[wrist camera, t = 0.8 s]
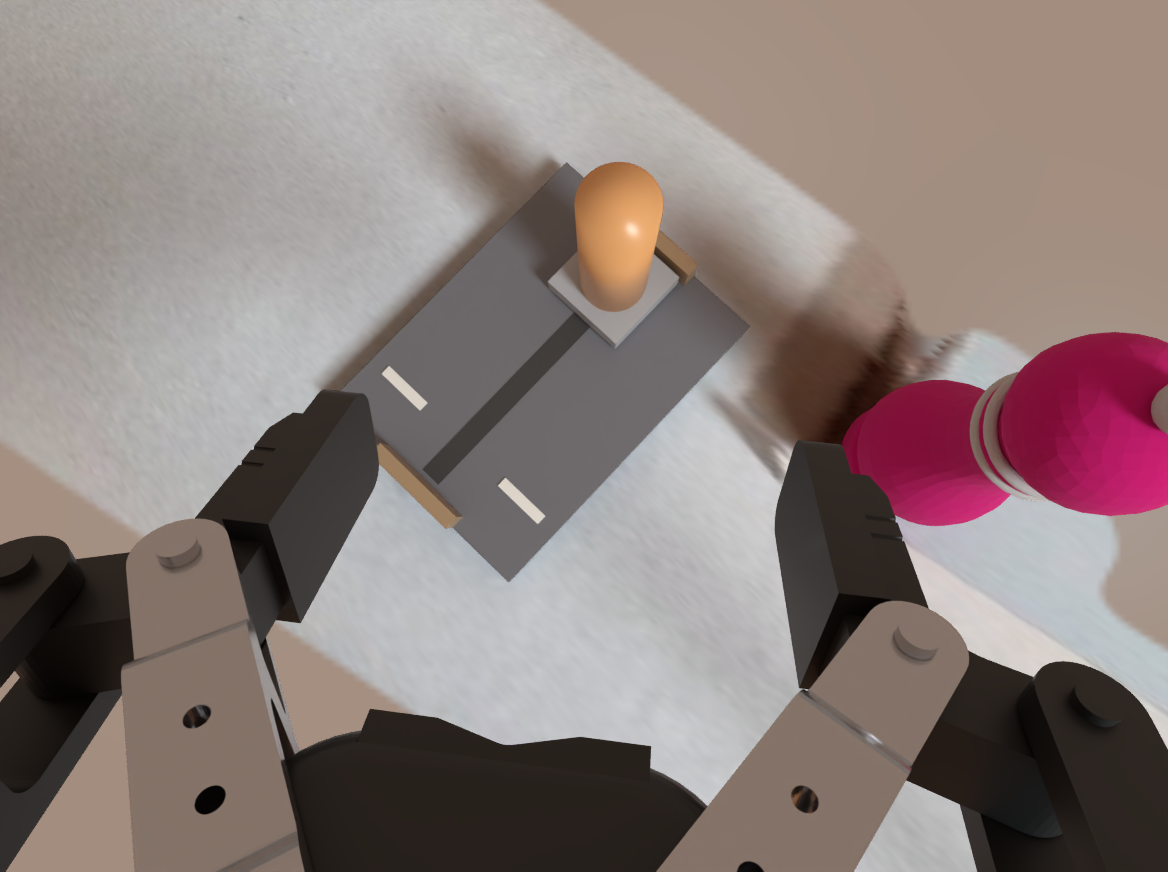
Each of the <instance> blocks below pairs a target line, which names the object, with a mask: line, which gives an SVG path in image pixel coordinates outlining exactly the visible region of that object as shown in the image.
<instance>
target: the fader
mask: <svg viewBox="0 0 1168 872" xmlns="http://www.w3.org/2000/svg"><path fill="white" fill-rule="evenodd" d="M574 207H575V220H576V233H577V247H578V251H577V252H576V253H575V254H574V255H573V256H572V257H571V258H570V259H569V260H568V261H567V262H566V263H565V264H564V265H563V266H562V267H561V268H560V269H559V270H558V271H557V273H556V274H555V275H554V276H553V277H552V278H551V279H550V280H549V281H548V285H549V289H550V290H551V291H552V292H553V293H554V294H556V295H557V296H558V297H559V298H560V299H561V300H562V301H563V302H564V303H565V304H566V305H568V306H569V307H570V308H571V309H572V310H573V311H574V312H575V313H576V314H577V315H578V316H579V317H581V318H582V319H583V320H584V321H585V322H586V323H587V324H588V325H589V326H590V327H591V328H593V329H594V330H595V331H596V332H597V333H598V334H599V335H600V336H601V337H602V338H603V339H604V340H606V341H607V342H608V343H609V344H610V345H611V346H612V347H613V348H614V349H616V348H617V347H618V346H619V345H620V344H621V342H622V341H623V340H624V339H625V338H626V337H627V336H628V335H629V334H630V333H631V332H632V331H633V330H634V329H635V328H636V327H637V326H638V325H639V324H640V323H641V322H642V321H643V320H644V318H645V317H646V316H647V315H648V314H649V313H650V312H651V311H652V310H653V309H654V308H655V307H656V306H657V305H658V304H659V303H660V302H661V301H662V300H663V299H664V298H665V297H666V295H667V294H668V293H669V292H670V291H671V290H672V289H673V288H674V287H675V286H676V285H677V283H678V280H679V276H678V275H677V274H675V273H674V272H673V271H672V270H671V269H670V268H669V267H668V266H666V265H665V264H664V263H663V262H662V261H661V260H660V259H659V258H658V257H656V256H655V255H654V250H655V245H656V241H657V236H658V231H659V227H660V222H661V218H662V213H663V196H662V192H661V190H660V187H659V185H658V183H657V182H656V180H655V179H654V178H653V177H652V176H651V175H650V174H649V173H648V172H647V171H646V170H644V169H642V168H641V167H639V166H636V165H634V164H630V163H625V162H614V163H608V164H605V165H602V166H600V167H598V168H596V169H594V170H593V171H591V172H590V173H589V174H588V175H587V176H586V177H585V178H584V179H583V180H582V182H581V183H580V185H579V187H578V189H577V192H576V196H575V205H574Z"/></svg>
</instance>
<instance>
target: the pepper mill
mask: <svg viewBox="0 0 1168 872" xmlns="http://www.w3.org/2000/svg"><path fill="white" fill-rule="evenodd" d="M842 446H843V448H844V451H845V454H846V457H847V460H848V464H849V467H850V470H851V473H852V474H861V475H869V476H870V477H871V478H872V480H873V481H874V482H875V483H876V484H877V485H878V486H879V487H880V488H881V489H882V490H883V492H884V493H885V494H886V495H887V496H888V498H889V501H890V504H891V507H892V509H893V512H894V515H896V516H898V517H901V518H903V519H905V520H907V521H910V522H913V523H916V524H921V525H927V526H945V525H953V524H959V523H965V522H968V521H971V520H974V519H976V518H978V517H980V516H982V515H984V514H986V513H988V512H990V511H992V510H994V509H995V508H997V507H998V506H999V505H1001V504H1002V503H1003V502H1004V501H1005V500H1006V499H1007V498H1008V497H1009V496H1010V495H1014V496H1016V497H1018V498H1021V499H1025V500H1030V501H1039V502H1047V501H1052V502H1054V503H1057V504H1059V505H1061V506H1063V507H1065V508H1068V509H1072V510H1075V511H1079V512H1082V513H1090V514H1098V515H1107V516H1114V515H1125V514H1137V513H1142V512H1146V511H1150V510H1153V509H1157V508H1160V507H1162V506H1165V505H1167V504H1168V343H1167V342H1164V341H1162V340H1159V339H1157V338H1153V337H1149V336H1144V335H1140V334H1131V333H1119V332H1111V333H1098V334H1089V335H1085V336H1081V337H1077V338H1074V339H1070V340H1068V341H1065V342H1062V343H1060V344H1057V345H1054V346H1052V347H1050V348H1048V349H1046V350H1044V351H1043V352H1041V353H1040V354H1038V355H1037V356H1036V357H1035V358H1034V359H1032V360H1031V361H1030V362H1029V363H1028V364H1026V365H1025V366H1024V367H1023V368H1022V370H1021V371H1020V372H1016V373H1013V374H1010V375H1007V376H1005V377H1003V378H1001V379H999V380H998V381H996V382H995V383H994V384H992V385H991V386H990V387H989V388H988V389H987V390H986V391H985V390H983V389H981V388H978V387H975V386H972V385H969V384H965V383H960V382H954V381H949V380H929V381H923V382H918V383H913V384H909V385H906V386H903V387H901V388H898V389H896V390H894V391H893V392H891V393H889V394H888V395H886V396H885V397H883V398H882V399H881V400H880V401H879V402H878V403H877V404H876V405H875V406H874V407H873V408H872V409H870V410H868V411H866V412H864V413H863V414H861V415H860V416H859V417H858V418H857V419H856V420H855V421H854V422H853V423H852V424H851V426H850V427H849V429H848V430H847V432H846V434H845V436H844V439H843V442H842Z"/></svg>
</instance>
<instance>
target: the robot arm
mask: <svg viewBox="0 0 1168 872" xmlns="http://www.w3.org/2000/svg"><path fill="white" fill-rule="evenodd" d="M378 470H379V457H378V451H377V445H376V439H375V434H374V428H373V422H372V416H371V411H370V405H369V401H368V398H367V397H366V395H365V394H363V393H354V392H344V391H335V390H322V391H321V392H319V394H318V395H317V396H316V397H315V399H314V400H313V401H312V403H311V404H310V405H309V406H308V408H307V409H306V410H305V412H304V413H303V414H301V413H292V414H290V415H289V416H287V417H285V418H284V419H282V420H281V421H279V422H277V423H276V424H274V425H273V426H271V427H270V428H269V429H268V430H267V431H266V432H265V433H264V435H263V436H262V437H261V438H260V440H259V441H258V442H257V443H256V444H255V446H254V450H251V451H250V452H249V453H248V454H247V455H246V457H245V458H244V459H243V460H242V465H238V466H237V468H236V469H235V470H234V471H233V472H232V474H231V475H230V476H229V477H228V479H227V480H226V481H225V482H224V483H223V485H222V486H221V487H220V488H219V490H218V491H217V492H216V493H215V494H214V496H213V497H212V498H211V499H210V501H209V502H208V503H207V504H206V505H205V507H204V508H203V509H202V510H201V512H200V513H199V514H198V515H197V516H196V518H195V519H187V520H181V521H177V522H173V523H170V524H167V525H165V526H162V527H160V528H158V529H156V530H154V531H153V532H151V533H149V534H148V535H146V536H145V537H144V538H142V539H141V540H140V541H139V542H138V543H137V544H136V545H135V546H134V548H133V549H132V550H131V552H129V553H122V554H114V555H106V556H99V557H90V558H83V559H75V557H74V556H73V554H72V552H71V551H70V549H69V547H68V546H67V544H66V543H65V542H63V541H61V540H60V539H58V538H55V537H50V536H32V537H25V538H20V539H17V540H13V541H9V542H7V543H4V544H2V545H0V687H2V685H3V684H4V683H5V682H6V680H7V679H8V678H9V677H10V675H11V674H12V673H13V672H14V671H15V672H16V673H17V674H18V676H19V677H20V678H19V679H18V681H17V682H16V683H15V684H14V686H13V687H12V688H11V689H10V691H9V692H8V693H7V694H6V696H5V697H4V698H3V699H2V701H1V702H0V872H6V870H7V869H8V867H9V865H10V864H11V862H12V861H13V860H14V858H15V857H16V855H17V853H18V852H19V850H20V849H21V847H22V846H23V844H24V843H25V841H26V840H27V838H28V837H29V835H30V833H31V832H32V830H33V829H34V828H35V826H36V825H37V823H38V821H39V820H40V818H41V817H42V815H43V814H44V812H45V811H46V809H47V808H48V806H49V804H50V803H51V802H52V800H53V799H54V797H55V796H56V794H57V793H58V791H59V789H60V788H61V786H62V785H63V783H64V782H65V780H66V779H67V777H68V776H69V774H70V773H71V771H72V770H73V768H74V767H75V765H76V764H77V762H78V760H79V759H80V757H81V756H82V754H83V753H84V751H85V750H86V748H87V747H88V745H89V744H90V742H91V740H92V739H93V738H94V736H95V735H96V733H97V732H98V730H99V728H100V727H101V725H102V724H103V722H104V721H105V719H106V718H107V716H108V715H109V713H110V712H111V710H112V709H113V707H114V705H115V704H116V702H117V701H118V700H119V698H120V696H121V695H122V698H123V713H124V727H125V740H126V755H127V769H128V783H129V797H130V810H131V826H132V838H133V839H132V840H133V853H134V867H135V872H854V870H855V869H856V867H857V865H858V863H859V862H860V860H861V858H862V856H863V855H864V853H865V851H866V849H867V848H868V846H869V844H870V842H871V841H872V839H873V837H874V835H875V834H876V832H877V830H878V828H879V827H880V825H881V823H882V821H883V820H884V818H885V816H886V814H887V813H888V811H889V809H890V807H891V806H892V804H893V802H894V800H895V798H896V797H897V795H898V793H899V791H900V790H901V788H902V786H903V784H904V783H905V781H906V780H907V781H909V782H911V783H913V784H916V785H918V786H920V787H922V788H925V789H927V790H929V791H931V792H933V793H936V794H938V795H940V796H942V797H945V798H947V799H949V800H951V801H954V802H956V803H958V804H960V807H961V811H962V815H963V819H964V822H965V826H966V830H967V834H968V838H969V842H970V845H971V849H972V853H973V857H974V861H975V865H976V868H977V872H1168V749H1167V747H1166V745H1165V743H1164V742H1163V740H1162V738H1161V736H1160V734H1159V732H1158V730H1157V728H1156V727H1155V725H1154V723H1153V721H1152V719H1151V717H1150V716H1149V714H1148V712H1147V711H1146V709H1145V708H1144V707H1143V705H1142V704H1141V703H1140V702H1139V700H1138V699H1137V698H1136V697H1135V696H1134V695H1133V694H1132V693H1131V692H1130V691H1128V690H1127V689H1126V688H1125V687H1124V686H1122V685H1121V684H1120V683H1118V682H1117V681H1115V680H1114V679H1113V678H1111V677H1109V676H1107V675H1106V674H1104V673H1102V672H1100V671H1098V670H1096V669H1093V668H1091V667H1088V666H1085V665H1082V664H1078V663H1074V662H1065V661H1062V662H1053V663H1049V664H1047V665H1045V666H1043V667H1042V668H1041V669H1040V670H1039V671H1038V672H1037V674H1036V675H1035V676H1034V677H1032V676H1029V675H1027V674H1024V673H1021V672H1019V671H1016V670H1013V669H1011V668H1008V667H1005V666H1003V665H1000V664H997V663H995V662H992V661H990V660H987V659H985V658H982V657H980V656H978V655H976V654H974V653H972V652H970V651H968V649H967V646H966V644H965V642H964V640H963V638H962V637H961V635H960V634H959V633H958V631H957V630H956V629H955V628H954V627H953V626H952V625H951V624H950V623H949V622H948V621H947V620H945V619H944V618H943V617H942V616H940V615H938V614H937V613H935V612H934V611H932V610H930V609H929V608H928V605H927V602H926V600H925V597H924V594H923V591H922V589H921V586H920V583H919V580H918V578H917V575H916V572H915V570H914V567H913V564H912V561H911V559H910V556H909V553H908V550H907V548H906V545H905V542H904V541H902V534H901V531H900V528H899V526H898V523H896V522H895V520H896V518H895V515H894V512H893V509H892V507H891V504H890V501H889V498H888V496H887V495H886V494H885V493H884V492H883V490H882V489H881V488H880V487H879V486H878V485H877V484H876V483H875V482H874V481H873V480H872V478H871V477H870V476H869V475H861V474H852V473H851V470H850V467H849V464H848V460H847V457H846V454H845V451H844V448H843V446H842V445H840V444H831V443H822V442H812V441H803V440H799V441H797V443H796V444H795V447H794V449H793V452H792V456H791V459H790V463H789V466H788V469H787V473H786V476H785V479H784V483H783V486H782V489H781V493H780V496H779V499H778V503H777V508H776V515H775V537H776V544H777V550H778V557H779V563H780V569H781V576H782V582H783V588H784V595H785V601H786V608H787V614H788V620H789V627H790V633H791V639H792V646H793V652H794V659H795V665H796V671H797V678H798V684H799V688H802V689H803V690H801V691H800V692H799V693H798V694H797V695H796V696H795V697H794V698H793V699H792V700H791V702H790V703H789V704H788V705H787V707H786V708H785V709H784V711H783V712H782V713H781V714H780V716H779V717H778V718H777V719H776V721H775V722H774V723H773V724H772V726H771V727H770V728H769V730H768V731H767V732H766V733H765V735H764V736H763V737H762V738H761V740H760V741H759V742H758V743H757V745H756V746H755V747H754V749H753V750H752V751H751V752H750V754H749V755H748V756H747V757H746V759H745V760H744V761H743V762H742V764H741V765H740V766H739V768H738V769H737V770H736V771H735V773H734V774H733V775H732V776H731V778H730V779H729V780H728V781H727V783H726V784H725V785H724V787H723V788H722V789H721V790H720V792H719V793H718V794H717V795H716V797H715V798H714V799H713V800H712V802H711V803H710V804H709V806H707V805H706V804H705V803H704V802H703V801H701V800H700V799H699V798H698V797H697V796H696V795H695V794H694V793H692V792H691V791H690V790H688V789H687V788H685V787H684V786H683V785H681V784H680V783H678V782H677V781H675V780H673V779H671V778H670V777H668V776H666V775H664V774H662V773H660V772H658V771H655V770H653V769H651V768H650V759H651V746H645V745H637V744H630V743H622V742H615V741H607V740H600V739H592V738H585V737H576V738H567V739H559V740H551V741H542V742H534V743H525V744H517V745H502V744H499V743H496V742H494V741H492V740H489V739H487V738H484V737H482V736H480V735H477V734H475V733H473V732H470V731H468V730H465V729H463V728H461V727H458V726H456V725H453V724H451V723H449V722H446V721H444V720H442V719H439V718H435V717H427V716H420V715H412V714H405V713H397V712H390V711H382V710H374V709H370V710H369V713H368V715H367V718H366V720H365V723H364V725H363V728H362V730H361V731H356V732H351V733H347V734H343V735H338V736H334V737H332V738H329V739H326V740H323V741H321V742H318V743H316V744H314V745H312V746H310V747H307V748H305V749H303V750H301V751H300V750H299V747H298V744H297V741H296V738H295V735H294V732H293V728H292V725H291V721H290V718H289V714H288V710H287V706H286V703H285V699H284V695H283V692H282V688H281V684H280V681H279V677H278V674H277V669H276V666H275V662H274V658H273V655H272V651H271V647H270V644H269V641H268V638H267V634H268V632H269V631H270V629H271V627H272V626H273V624H274V622H275V620H280V621H288V622H296V623H301V621H302V620H303V618H304V616H305V614H306V612H307V610H308V609H309V607H310V605H311V603H312V601H313V599H314V598H315V596H316V594H317V592H318V590H319V588H320V586H321V585H322V583H323V581H324V579H325V577H326V575H327V574H328V572H329V570H330V568H331V566H332V564H333V563H334V561H335V559H336V557H337V555H338V553H339V552H340V550H341V548H342V546H343V544H344V542H345V541H346V539H347V537H348V535H349V533H350V531H351V530H352V528H353V526H354V524H355V522H356V520H357V519H358V517H359V515H360V513H361V511H362V509H363V508H364V506H365V504H366V502H367V500H368V498H369V497H370V495H371V493H372V491H373V489H374V487H375V484H376V481H377V476H378ZM804 689H809V690H808V691H806V690H804Z"/></svg>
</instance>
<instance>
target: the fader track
mask: <svg viewBox="0 0 1168 872" xmlns="http://www.w3.org/2000/svg"><path fill="white" fill-rule="evenodd" d="M583 179H584V178H583V177H582V176H581V175H580V174H579V173H578V172H577V171H576V170H575V169H573V168H572V167H571V166H570V165H569V164H568V163H566V164H565V165H564V166H563V167H562V168H561V169H560V170H559V171H558V172H557V173H556V174H555V175H554V176H553V177H552V178H551V179H550V180H549V181H548V182H547V183H546V184H545V185H544V186H543V187H542V188H541V189H540V190H539V191H538V192H537V193H536V194H535V195H534V196H533V197H532V198H531V199H530V200H529V201H528V202H527V203H526V204H525V205H524V206H523V207H522V208H521V209H520V210H519V211H518V212H517V213H516V214H515V215H514V216H513V217H512V218H511V219H510V220H509V221H508V222H507V223H506V224H505V225H504V226H503V227H502V228H501V229H500V230H499V231H498V232H497V233H496V234H495V235H494V236H493V237H492V238H491V239H490V240H489V241H488V242H487V243H486V244H485V245H484V246H483V247H482V248H481V249H480V251H479V252H478V253H477V254H476V255H475V256H474V257H473V258H472V259H471V260H470V261H469V262H468V263H467V264H466V265H465V266H464V267H463V268H462V269H461V270H460V271H459V272H458V273H457V274H456V275H455V276H454V277H453V278H452V279H451V280H450V281H449V282H448V283H447V284H446V285H445V286H444V287H443V288H442V289H441V290H440V291H439V292H438V293H437V294H436V295H435V296H434V297H433V298H432V299H431V300H430V301H429V302H428V303H427V304H426V305H425V306H424V307H423V308H422V309H421V310H420V311H419V312H418V313H417V314H416V315H415V316H414V317H413V318H412V319H411V320H410V321H409V322H408V323H407V324H406V325H405V326H404V327H403V328H402V329H401V330H400V331H399V332H398V333H397V334H396V335H395V336H394V337H393V338H392V340H391V341H390V342H389V343H388V344H387V345H386V346H385V347H384V348H383V349H382V350H381V351H380V352H379V353H378V354H377V355H376V356H375V357H374V358H373V359H372V360H371V361H370V362H369V363H368V364H367V365H366V366H365V367H364V368H363V369H362V370H361V371H360V372H359V373H358V374H357V375H356V376H355V377H354V378H353V379H352V380H351V381H350V382H349V383H348V384H347V385H346V386H345V387H344V388H343V389H342V390H341V391H344V392H354V393H363V394H365V395H366V397H367V398H368V401H369V405H370V411H371V416H372V422H373V428H374V434H375V439H376V445H377V451H378V457H379V464H380V465H381V466H382V467H383V468H384V469H385V470H386V471H387V472H388V473H389V474H390V475H391V476H392V477H393V478H394V479H395V480H396V481H397V482H398V483H399V484H400V485H401V486H402V487H403V488H404V489H405V490H407V491H408V492H409V493H410V494H411V495H412V496H413V497H414V498H415V499H416V500H417V501H418V502H419V503H420V504H421V505H422V506H423V507H424V508H425V509H426V510H427V511H428V512H429V513H430V514H431V515H432V516H433V517H434V518H435V519H436V520H437V521H438V522H439V523H440V524H441V525H442V526H443V527H444V528H445V529H447V528H454V529H455V530H456V531H457V532H458V533H459V534H460V535H461V536H462V537H463V538H464V539H465V540H466V541H467V542H468V543H469V544H470V545H471V546H472V547H473V548H474V549H475V550H476V551H477V552H478V553H479V554H480V555H481V556H482V557H483V558H484V559H485V560H486V561H487V562H488V563H489V564H490V565H491V566H492V567H493V568H494V569H495V570H497V571H498V572H499V573H500V574H501V575H502V576H503V577H504V578H505V579H506V580H507V581H508V582H510V581H511V580H512V579H513V578H514V577H515V576H516V575H517V574H518V573H519V572H520V570H521V569H522V568H523V567H524V566H525V565H526V564H527V563H528V562H529V561H530V560H531V559H532V558H533V557H534V556H535V555H536V553H537V552H538V551H539V550H540V549H541V548H542V547H543V546H544V545H545V544H546V543H547V542H548V541H549V540H550V539H551V538H552V537H553V535H554V534H555V533H556V532H557V531H558V530H559V529H560V528H561V527H562V526H563V525H564V524H565V523H566V522H567V521H568V520H569V518H570V517H571V516H572V515H573V514H574V513H575V512H576V511H577V510H578V509H579V508H580V507H581V506H582V505H583V504H584V503H585V501H586V500H587V499H588V498H589V497H590V496H591V495H592V494H593V493H594V492H595V491H596V490H597V489H598V488H599V487H600V486H601V484H602V483H603V482H604V481H605V480H606V479H607V478H608V477H609V476H610V475H611V474H612V473H613V472H614V471H615V470H616V469H617V468H618V466H619V465H620V464H621V463H622V462H623V461H624V460H625V459H626V458H627V457H628V456H629V455H630V454H631V453H632V452H633V451H634V449H635V448H636V447H637V446H638V445H639V444H640V443H641V442H642V441H643V440H644V439H645V438H646V437H647V436H648V435H649V434H650V432H651V431H652V430H653V429H654V428H655V427H656V426H657V425H658V424H659V423H660V422H661V421H662V420H663V419H664V418H665V417H666V416H667V414H668V413H669V412H670V411H671V410H672V409H673V408H674V407H675V406H676V405H677V404H678V403H679V402H680V401H681V400H682V399H683V397H684V396H685V395H686V394H687V393H688V392H689V391H690V390H691V389H692V388H693V387H694V386H695V385H696V384H697V383H698V382H699V380H700V379H701V378H702V377H703V376H704V375H705V374H706V373H707V372H708V371H709V370H710V369H711V368H712V367H713V366H714V365H715V364H716V362H717V361H718V360H719V359H720V358H721V357H722V356H723V355H724V354H725V353H726V352H727V351H728V350H729V349H730V348H731V347H732V345H733V344H734V343H735V342H736V341H737V340H738V339H739V338H740V337H741V336H742V335H743V334H744V333H745V331H746V330H747V329H748V328H749V327H750V326H749V325H748V324H747V323H746V322H745V321H743V320H742V319H741V318H740V317H739V316H738V315H737V314H736V313H735V312H733V311H732V310H731V309H730V308H729V307H728V306H727V305H726V304H724V303H723V302H722V301H721V300H720V299H719V298H718V297H717V296H716V295H714V294H713V293H712V292H711V291H710V290H709V289H708V288H707V287H705V286H704V285H703V284H702V283H701V282H700V281H699V280H698V279H696V278H695V277H694V274H695V271H696V269H697V267H698V264H697V263H696V262H695V261H694V260H693V259H692V258H691V257H690V256H688V255H687V254H686V253H685V252H684V251H683V250H682V249H681V248H679V247H678V246H677V245H676V244H675V243H674V242H673V241H672V240H670V239H669V238H668V237H667V236H666V235H665V234H664V233H663V232H662V231H660V230H659V231H658V236H657V241H656V245H655V250H654V255H655V256H656V257H658V258H659V259H660V260H661V261H662V262H663V263H664V264H665V265H666V266H668V267H669V268H670V269H671V270H672V271H673V272H674V273H675V274H677V275H678V276H679V280H678V283H677V285H676V286H675V287H674V288H673V289H672V290H671V291H670V292H669V293H668V294H667V295H666V297H665V298H664V299H663V300H662V301H661V302H660V303H659V304H658V305H657V306H656V307H655V308H654V309H653V310H652V311H651V312H650V313H649V314H648V315H647V316H646V317H645V318H644V320H643V321H642V322H641V323H640V324H639V325H638V326H637V327H636V328H635V329H634V330H633V331H632V332H631V333H630V334H629V335H628V336H627V337H626V338H625V339H624V340H623V341H622V342H621V344H620V345H619V346H618V347H617V348H616V349H614V348H613V347H612V346H611V345H610V344H609V343H608V342H607V341H606V340H604V339H603V338H602V337H601V336H600V335H599V334H598V333H597V332H596V331H595V330H594V329H593V328H591V327H590V326H589V325H588V324H587V323H586V322H585V321H584V320H583V319H582V318H581V317H579V316H578V315H577V314H576V313H575V312H574V311H573V310H572V309H571V308H570V307H569V306H568V305H566V304H565V303H564V302H563V301H562V300H561V299H560V298H559V297H558V296H557V295H556V294H554V293H553V292H552V291H551V290H550V289H549V285H548V281H549V280H550V279H551V278H552V277H553V276H554V275H555V274H556V273H557V271H558V270H559V269H560V268H561V267H562V266H563V265H564V264H565V263H566V262H567V261H568V260H569V259H570V258H571V257H572V256H573V255H574V254H575V253H576V252H577V251H578V247H577V233H576V220H575V207H574V205H575V196H576V192H577V189H578V187H579V185H580V183H581V182H582V180H583Z"/></svg>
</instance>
